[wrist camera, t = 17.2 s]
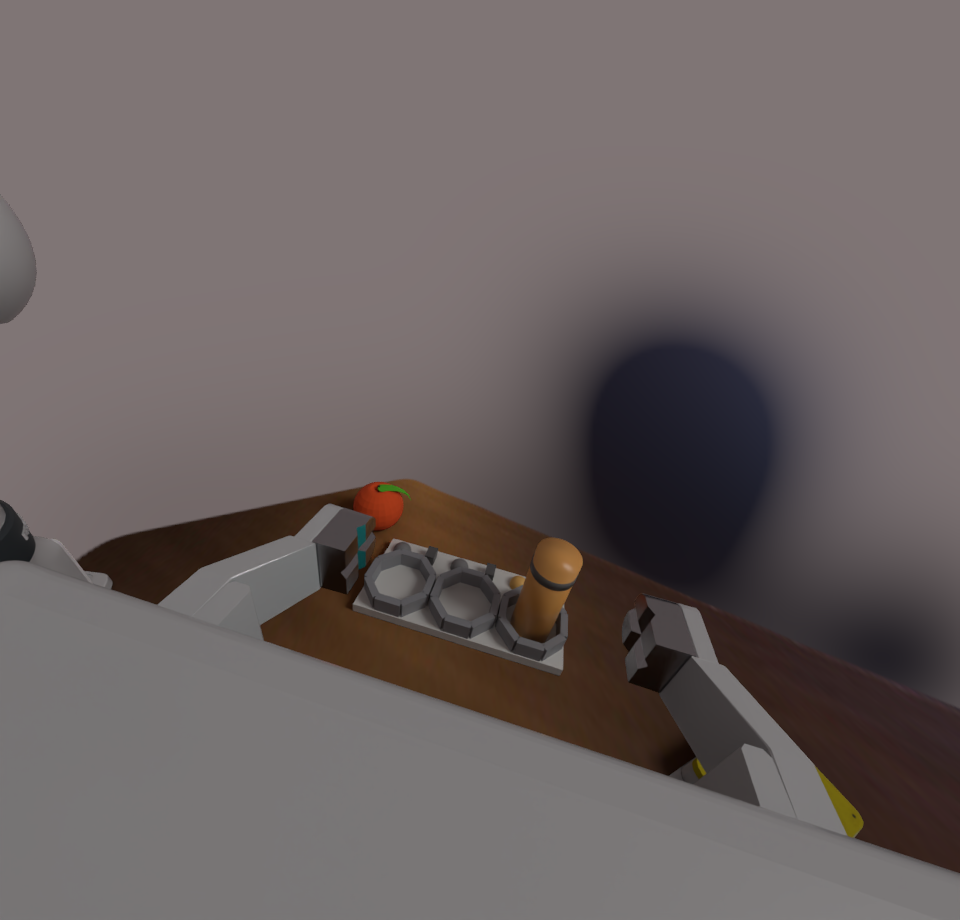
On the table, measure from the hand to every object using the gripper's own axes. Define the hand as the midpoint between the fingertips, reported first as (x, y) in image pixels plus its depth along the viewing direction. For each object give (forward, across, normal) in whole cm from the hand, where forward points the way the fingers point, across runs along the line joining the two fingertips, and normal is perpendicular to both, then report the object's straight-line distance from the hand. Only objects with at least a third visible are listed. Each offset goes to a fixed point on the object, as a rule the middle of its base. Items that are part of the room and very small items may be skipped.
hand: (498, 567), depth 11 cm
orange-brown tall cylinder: (+20, -6, +29) cm, 35 cm away
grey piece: (+21, +2, +30) cm, 37 cm away
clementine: (+30, +17, +30) cm, 46 cm away
